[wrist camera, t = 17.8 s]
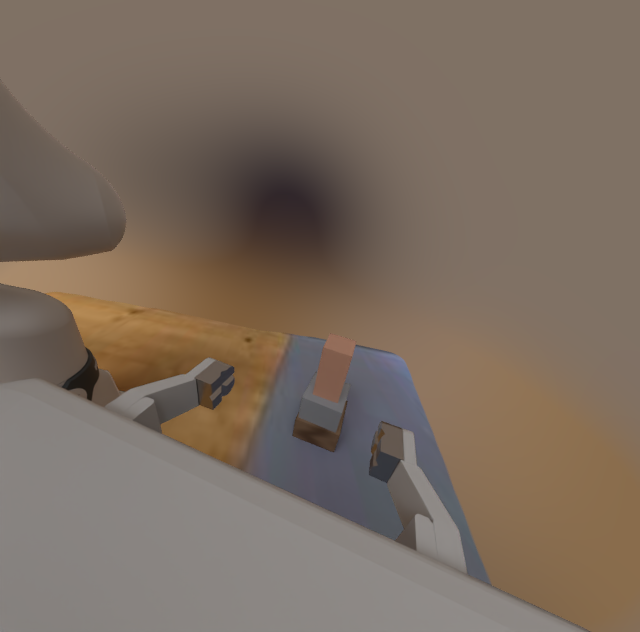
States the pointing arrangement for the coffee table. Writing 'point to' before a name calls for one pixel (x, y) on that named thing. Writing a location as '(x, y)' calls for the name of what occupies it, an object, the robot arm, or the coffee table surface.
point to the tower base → (317, 433)
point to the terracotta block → (333, 367)
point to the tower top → (322, 407)
